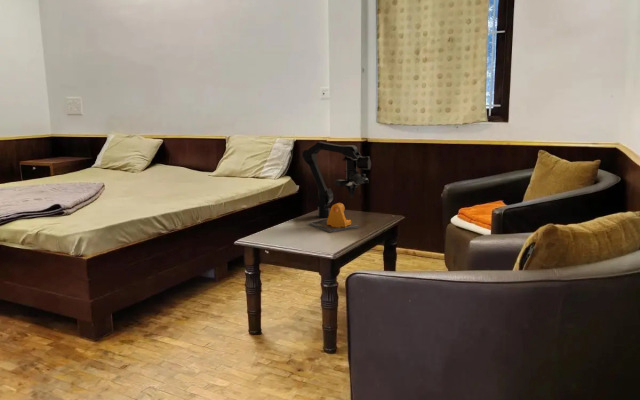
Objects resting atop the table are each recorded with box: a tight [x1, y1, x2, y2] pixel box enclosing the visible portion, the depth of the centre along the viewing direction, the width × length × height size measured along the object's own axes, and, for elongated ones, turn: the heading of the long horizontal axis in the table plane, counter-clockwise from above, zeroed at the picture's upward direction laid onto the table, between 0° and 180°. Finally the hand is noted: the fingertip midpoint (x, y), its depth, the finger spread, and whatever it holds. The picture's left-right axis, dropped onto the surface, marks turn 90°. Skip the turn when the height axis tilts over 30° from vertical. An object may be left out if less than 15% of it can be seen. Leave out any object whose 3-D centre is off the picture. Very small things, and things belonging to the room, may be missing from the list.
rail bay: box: [308, 219, 360, 234], centre depth 265 cm, size 21×18×1 cm
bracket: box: [326, 202, 352, 228], centre depth 265 cm, size 11×7×12 cm, turn 58°
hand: (351, 197), depth 279 cm, fingers closed
